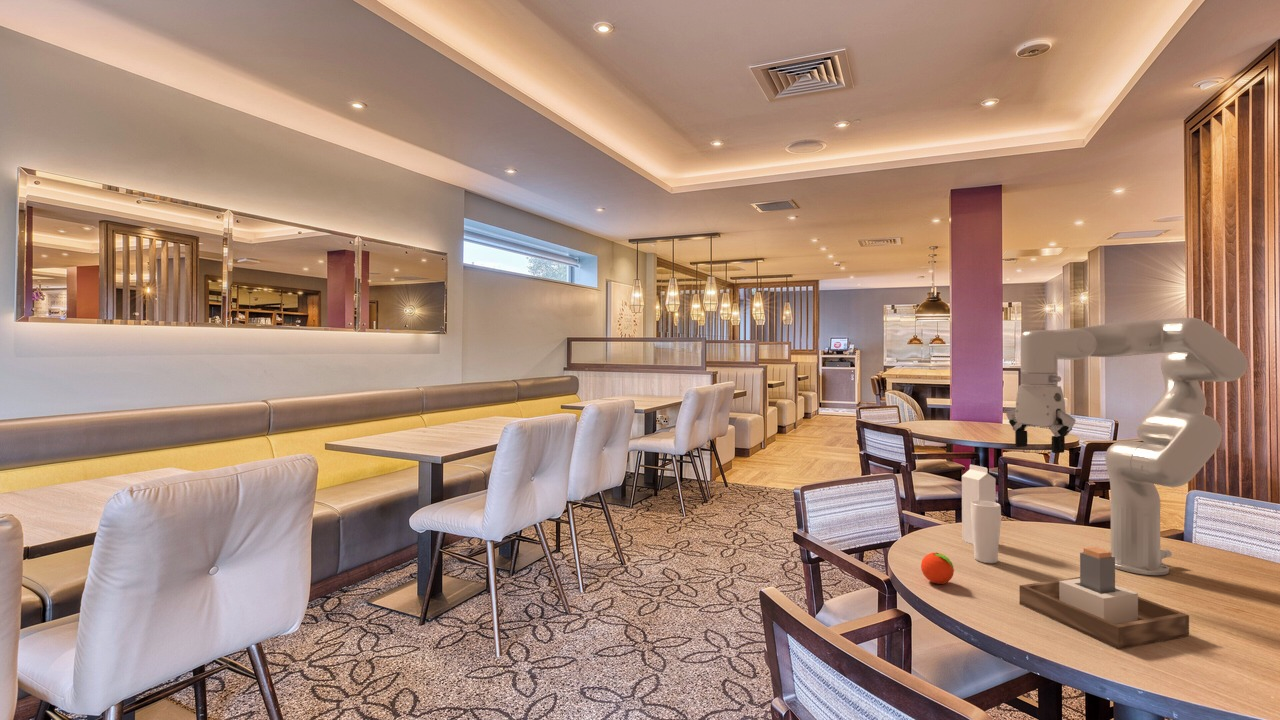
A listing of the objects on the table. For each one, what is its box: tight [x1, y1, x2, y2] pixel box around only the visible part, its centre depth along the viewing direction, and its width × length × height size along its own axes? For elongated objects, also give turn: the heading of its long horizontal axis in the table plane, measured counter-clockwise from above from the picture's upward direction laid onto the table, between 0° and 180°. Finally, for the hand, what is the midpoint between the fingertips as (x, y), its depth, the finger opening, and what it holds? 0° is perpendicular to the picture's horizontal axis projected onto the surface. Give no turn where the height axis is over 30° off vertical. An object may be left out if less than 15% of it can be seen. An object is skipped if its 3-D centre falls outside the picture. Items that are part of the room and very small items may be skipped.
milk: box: [961, 464, 997, 545], centre depth 164 cm, size 6×6×22 cm
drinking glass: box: [971, 500, 1002, 564], centre depth 150 cm, size 7×7×15 cm
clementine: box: [920, 552, 955, 585], centre depth 135 cm, size 8×7×7 cm
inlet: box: [1059, 578, 1139, 624], centre depth 118 cm, size 9×9×5 cm
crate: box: [1018, 576, 1190, 650], centre depth 116 cm, size 18×20×4 cm
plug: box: [1079, 546, 1116, 594], centre depth 118 cm, size 4×4×11 cm
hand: (1039, 449), depth 142 cm, fingers open, 9 cm apart
